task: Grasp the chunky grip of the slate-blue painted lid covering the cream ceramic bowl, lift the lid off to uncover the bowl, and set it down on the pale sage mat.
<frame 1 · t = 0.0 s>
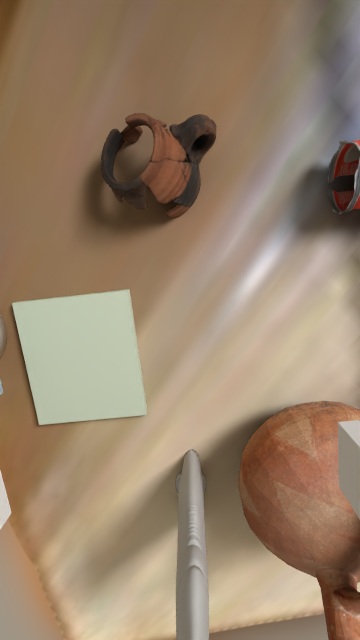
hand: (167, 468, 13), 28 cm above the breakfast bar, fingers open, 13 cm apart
tall pale column: (190, 480, 45), on the breakfast bar
jug: (300, 444, 43), on the breakfast bar
mat: (83, 358, 41), on the breakfast bar
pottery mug: (165, 170, 37), on the breakfast bar
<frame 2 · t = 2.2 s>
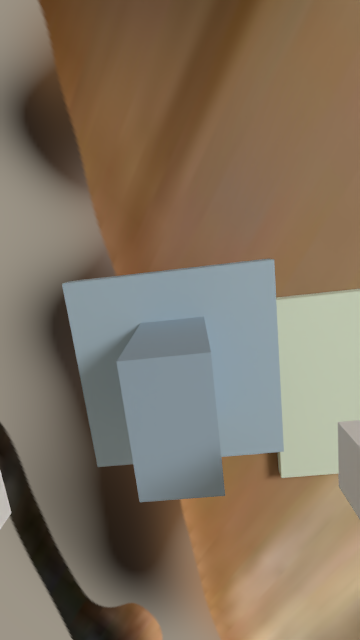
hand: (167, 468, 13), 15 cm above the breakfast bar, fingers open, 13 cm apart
mat: (357, 382, 28), on the breakfast bar
lid: (179, 364, 23), point 5 cm above the breakfast bar, touching bowl
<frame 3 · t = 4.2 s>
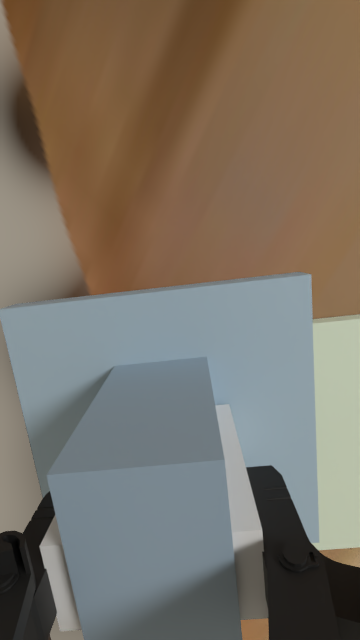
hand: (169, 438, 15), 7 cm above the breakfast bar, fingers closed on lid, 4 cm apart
lid: (171, 418, 16), point 5 cm above the breakfast bar, touching bowl, gripper
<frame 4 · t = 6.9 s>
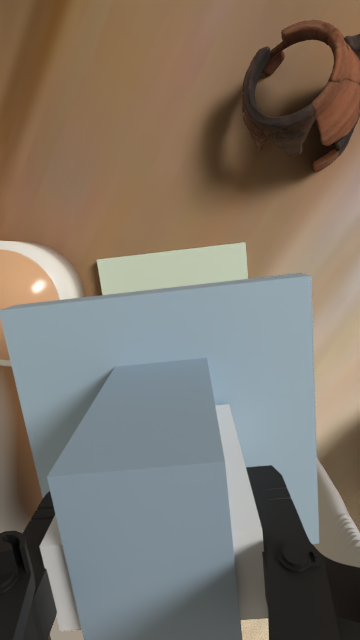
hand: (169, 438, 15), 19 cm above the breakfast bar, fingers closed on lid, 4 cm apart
tall pale column: (300, 482, 37), on the breakfast bar
bowl: (31, 298, 33), on the breakfast bar
mat: (180, 331, 33), on the breakfast bar
lid: (171, 419, 16), point 17 cm above the breakfast bar, touching gripper
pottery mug: (305, 111, 29), on the breakfast bar
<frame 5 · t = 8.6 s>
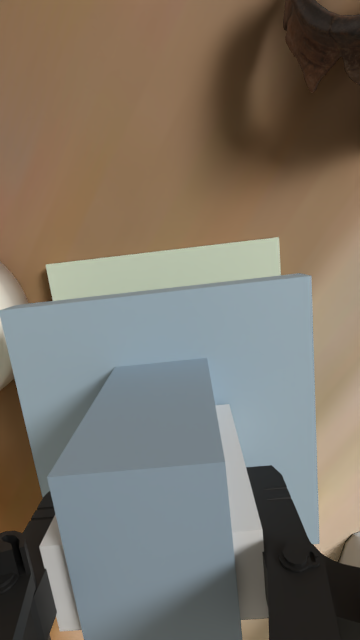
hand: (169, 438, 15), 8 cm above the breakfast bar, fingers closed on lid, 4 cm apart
tall pale column: (349, 581, 26), on the breakfast bar
mat: (176, 371, 22), on the breakfast bar
lid: (171, 419, 16), point 6 cm above the breakfast bar, touching gripper
when the fingers open (4 cm above the breakfast bar, at t = 10.1 s): lid drops 1 cm, resting on mat.
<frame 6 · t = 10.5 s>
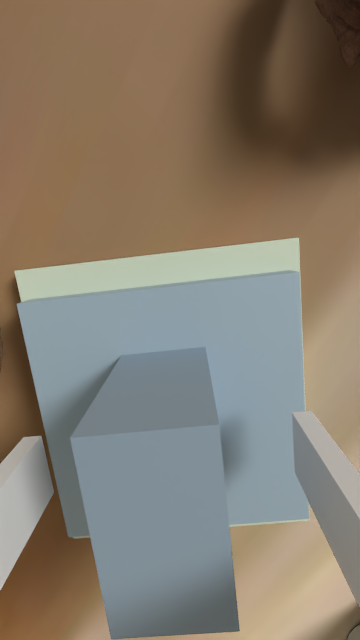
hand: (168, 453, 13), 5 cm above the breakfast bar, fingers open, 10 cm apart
mat: (173, 397, 19), on the breakfast bar
lid: (173, 405, 18), point 1 cm above the breakfast bar, touching mat
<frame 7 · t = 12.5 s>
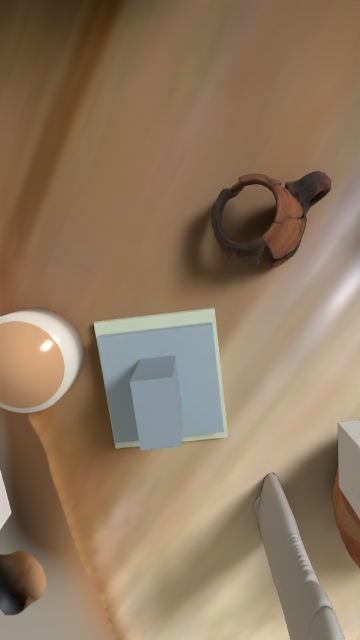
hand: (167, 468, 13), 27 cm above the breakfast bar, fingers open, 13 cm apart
tall pale column: (268, 504, 43), on the breakfast bar
bowl: (39, 352, 40), on the breakfast bar
mat: (163, 378, 40), on the breakfast bar
lid: (162, 381, 39), point 1 cm above the breakfast bar, touching mat
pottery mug: (264, 221, 37), on the breakfast bar
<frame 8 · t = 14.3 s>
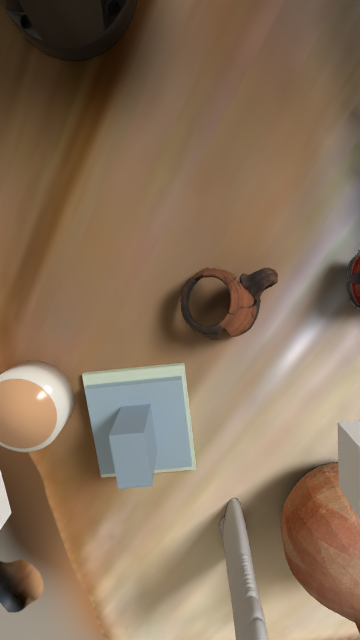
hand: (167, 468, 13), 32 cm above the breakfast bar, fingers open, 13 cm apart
tall pale column: (232, 524, 51), on the breakfast bar
jug: (330, 493, 49), on the breakfast bar
bowl: (36, 397, 47), on the breakfast bar
mat: (141, 420, 47), on the breakfast bar
lid: (140, 423, 46), point 1 cm above the breakfast bar, touching mat
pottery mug: (228, 296, 43), on the breakfast bar
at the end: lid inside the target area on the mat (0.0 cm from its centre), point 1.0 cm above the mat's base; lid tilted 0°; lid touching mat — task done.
